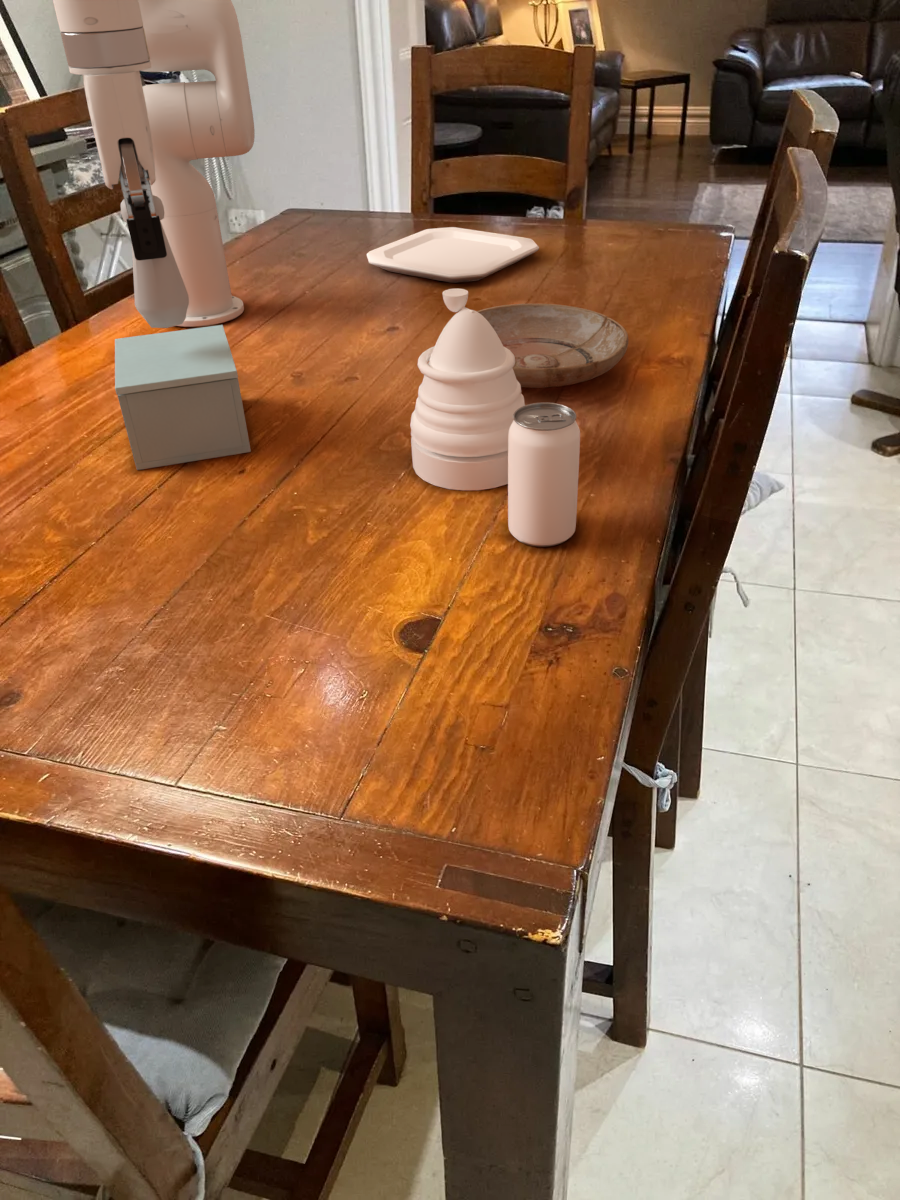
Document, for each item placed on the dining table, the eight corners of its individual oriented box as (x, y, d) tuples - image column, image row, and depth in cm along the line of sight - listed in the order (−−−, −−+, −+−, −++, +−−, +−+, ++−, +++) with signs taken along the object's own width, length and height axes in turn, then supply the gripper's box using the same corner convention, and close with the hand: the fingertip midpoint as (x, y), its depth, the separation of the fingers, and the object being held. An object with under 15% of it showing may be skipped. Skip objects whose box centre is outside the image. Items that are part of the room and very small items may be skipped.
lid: (238, 377, 100) (236, 370, 100) (116, 395, 97) (114, 388, 97) (223, 331, 113) (222, 324, 113) (116, 345, 110) (114, 338, 110)
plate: (438, 236, 178) (437, 224, 176) (550, 253, 165) (550, 240, 164) (353, 270, 162) (352, 257, 160) (470, 292, 149) (470, 278, 148)
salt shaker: (179, 332, 100) (152, 203, 93) (130, 330, 101) (99, 203, 94) (201, 313, 105) (177, 190, 97) (154, 312, 106) (127, 190, 98)
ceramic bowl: (464, 414, 112) (463, 375, 109) (436, 345, 131) (434, 310, 128) (650, 396, 114) (654, 356, 112) (596, 330, 133) (598, 295, 130)
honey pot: (390, 458, 103) (376, 296, 93) (481, 425, 109) (478, 269, 99) (459, 503, 95) (453, 329, 84) (554, 464, 101) (560, 298, 90)
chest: (251, 452, 106) (237, 378, 101) (136, 470, 103) (117, 395, 98) (236, 399, 118) (224, 331, 113) (133, 414, 116) (116, 345, 110)
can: (504, 516, 92) (503, 402, 85) (568, 511, 93) (573, 398, 86) (513, 551, 87) (513, 433, 80) (581, 546, 87) (588, 428, 80)
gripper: (68, 47, 94) (113, 236, 104) (62, 64, 81) (114, 278, 91) (145, 42, 95) (182, 228, 106) (151, 58, 82) (192, 269, 93)
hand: (150, 250), depth 98 cm, fingers closed on salt shaker, 4 cm apart
